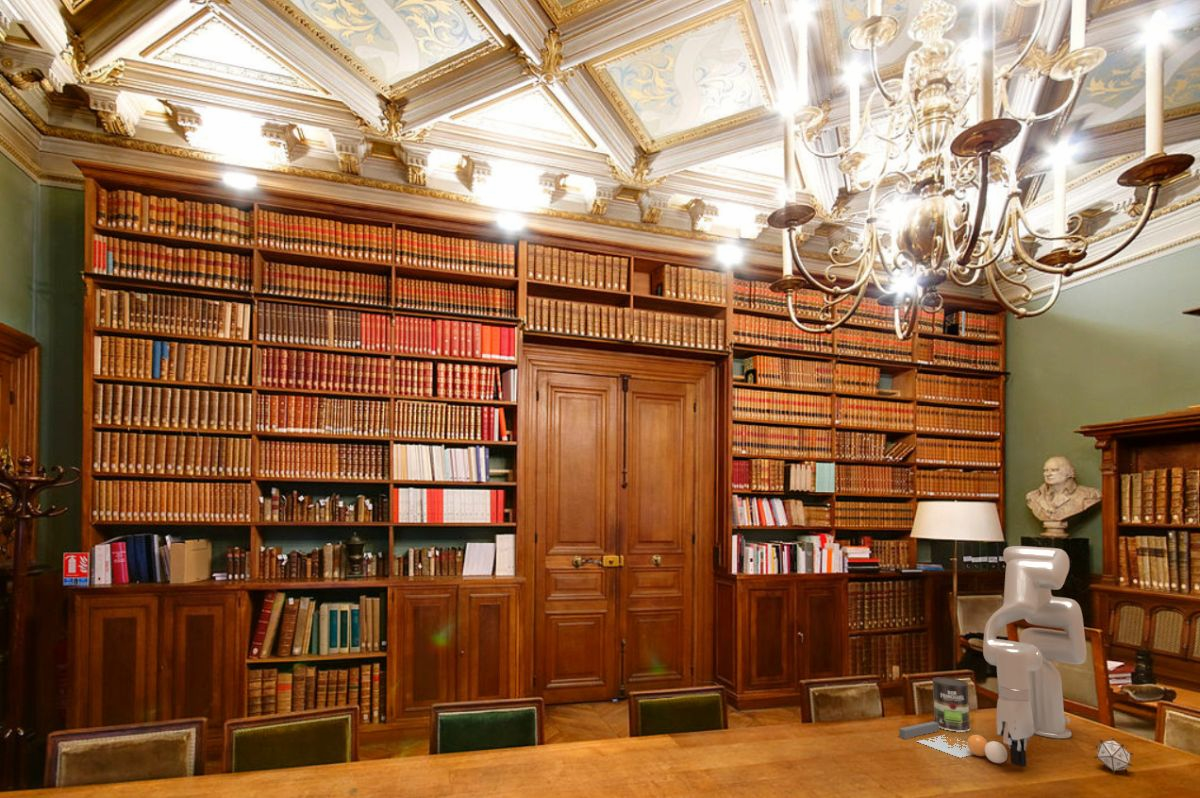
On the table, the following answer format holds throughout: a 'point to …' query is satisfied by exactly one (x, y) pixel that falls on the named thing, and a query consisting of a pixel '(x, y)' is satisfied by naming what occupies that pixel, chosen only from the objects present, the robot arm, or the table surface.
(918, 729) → the bar
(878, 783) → the table surface
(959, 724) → the coffee can
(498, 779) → the table surface
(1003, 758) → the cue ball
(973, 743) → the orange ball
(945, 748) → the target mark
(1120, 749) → the game die
